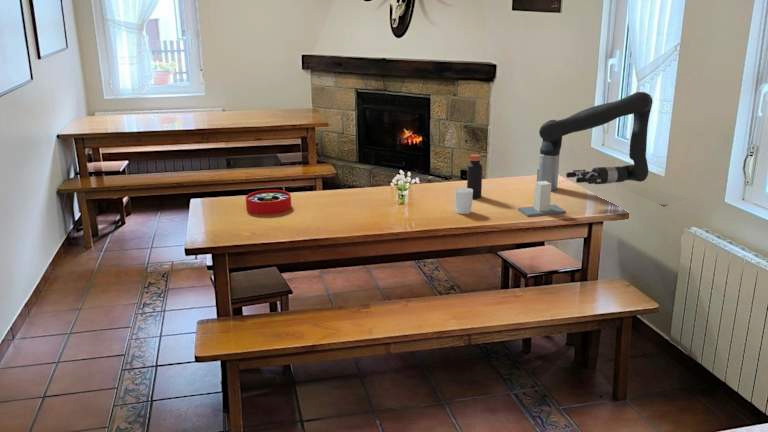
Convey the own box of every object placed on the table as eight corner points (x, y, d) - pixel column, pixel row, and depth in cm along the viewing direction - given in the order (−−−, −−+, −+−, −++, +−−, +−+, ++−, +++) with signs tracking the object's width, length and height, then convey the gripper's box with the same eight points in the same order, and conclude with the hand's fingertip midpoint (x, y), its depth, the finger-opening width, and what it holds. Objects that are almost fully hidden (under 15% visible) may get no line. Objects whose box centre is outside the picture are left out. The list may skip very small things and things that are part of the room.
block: (539, 211, 299) (540, 184, 295) (533, 208, 303) (535, 181, 299) (549, 210, 300) (551, 183, 296) (544, 207, 304) (545, 180, 301)
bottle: (480, 199, 321) (482, 157, 314) (466, 198, 322) (467, 156, 316) (481, 195, 327) (483, 153, 321) (467, 194, 328) (468, 153, 322)
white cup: (474, 210, 305) (474, 188, 302) (470, 215, 298) (470, 193, 294) (456, 208, 307) (457, 187, 304) (452, 213, 300) (452, 191, 297)
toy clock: (276, 204, 297) (236, 199, 304) (277, 217, 299) (237, 212, 306) (298, 192, 315) (260, 188, 322) (299, 204, 317) (261, 200, 324)
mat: (527, 216, 295) (527, 214, 295) (517, 209, 304) (517, 207, 304) (565, 213, 299) (565, 210, 299) (554, 206, 308) (555, 204, 308)
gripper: (596, 163, 311) (564, 165, 307) (614, 171, 298) (581, 173, 294) (594, 179, 314) (562, 181, 310) (612, 187, 301) (579, 190, 297)
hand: (571, 177), depth 302 cm, fingers open, 8 cm apart
